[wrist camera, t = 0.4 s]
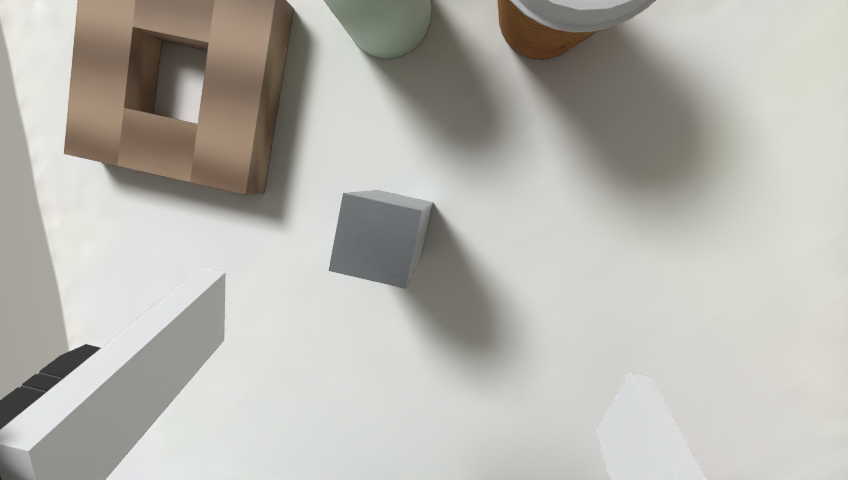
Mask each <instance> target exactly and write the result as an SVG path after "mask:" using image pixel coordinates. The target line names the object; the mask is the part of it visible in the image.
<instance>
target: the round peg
mask: <svg viewBox="0 0 848 480" xmlns="http://www.w3.org/2000/svg"><path fill="white" fill-rule="evenodd" d="M324 1H325V3H326V4H327V5H328V7H329V8H330V9H331V11H332V12H333V14H334V15H335V16H336V18H337V19H338V20H339V22H340V23H341V24H342V26H343V27H344V28H345V30H346V31H347V32H348V34H349V35H350V36H351V38H352V39H353V41H354V42H355V43H356V44H357V45H358V46H359V47H360V48H361V49H362V50H363V51H365V52H366V53H368V54H370V55H372V56H375V57H378V58H396V57H400V56H403V55H405V54H407V53H409V52H410V51H412V50H413V49H414V48H416V47H417V46H418V45H419V44H420V42H421V41H422V40H423V38H424V37H425V35H426V33H427V31H428V28H429V25H430V21H431V1H430V0H324Z"/></svg>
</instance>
